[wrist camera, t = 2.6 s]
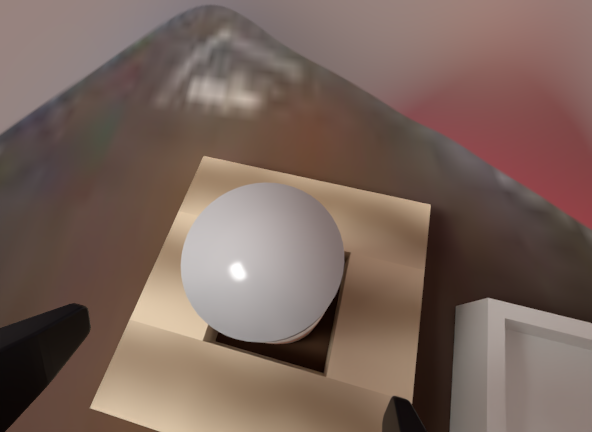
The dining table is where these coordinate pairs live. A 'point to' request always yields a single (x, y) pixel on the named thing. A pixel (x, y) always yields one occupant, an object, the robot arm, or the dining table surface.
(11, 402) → the robot arm
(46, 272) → the dining table surface
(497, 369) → the tray
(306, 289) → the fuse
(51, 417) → the dining table surface
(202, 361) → the socket block
